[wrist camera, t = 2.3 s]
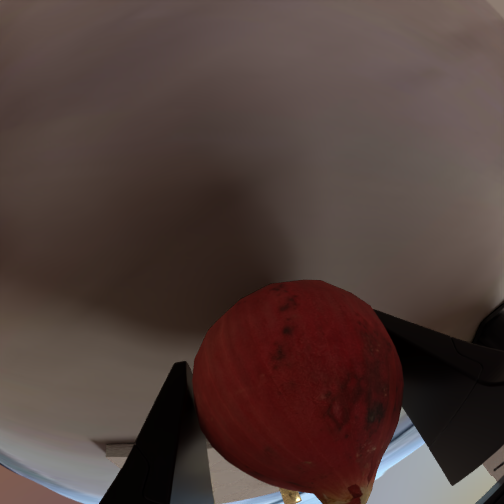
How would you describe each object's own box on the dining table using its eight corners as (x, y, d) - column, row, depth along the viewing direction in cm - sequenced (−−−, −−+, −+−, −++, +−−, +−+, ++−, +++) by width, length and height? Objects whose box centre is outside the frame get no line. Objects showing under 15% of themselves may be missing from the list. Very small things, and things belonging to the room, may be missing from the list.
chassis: (326, 401, 14) (351, 445, 11) (317, 470, 20) (329, 496, 17) (106, 444, 12) (104, 490, 9) (180, 499, 18) (185, 527, 15)
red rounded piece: (225, 215, 9) (375, 473, 2) (354, 270, 11) (499, 406, 4) (167, 349, 10) (186, 553, 3) (286, 373, 12) (358, 518, 5)
